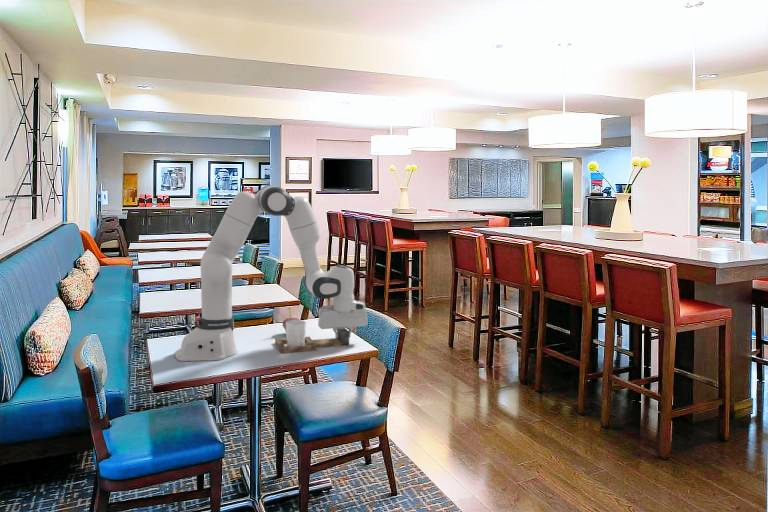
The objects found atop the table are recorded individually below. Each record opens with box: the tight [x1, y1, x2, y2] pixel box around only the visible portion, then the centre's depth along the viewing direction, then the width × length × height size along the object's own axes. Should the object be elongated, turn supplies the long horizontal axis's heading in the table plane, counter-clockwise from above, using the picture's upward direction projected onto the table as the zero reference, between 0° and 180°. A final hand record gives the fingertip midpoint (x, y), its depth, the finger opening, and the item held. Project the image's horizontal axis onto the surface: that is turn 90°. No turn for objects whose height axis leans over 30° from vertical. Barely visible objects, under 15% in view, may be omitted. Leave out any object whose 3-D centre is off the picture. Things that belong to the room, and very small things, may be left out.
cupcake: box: [281, 305, 300, 332], centre depth 247 cm, size 9×8×12 cm
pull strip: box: [274, 327, 350, 354], centre depth 233 cm, size 28×14×6 cm, turn 109°
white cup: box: [285, 319, 307, 347], centre depth 230 cm, size 8×8×10 cm
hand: (342, 337), depth 237 cm, fingers closed on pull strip, 3 cm apart
